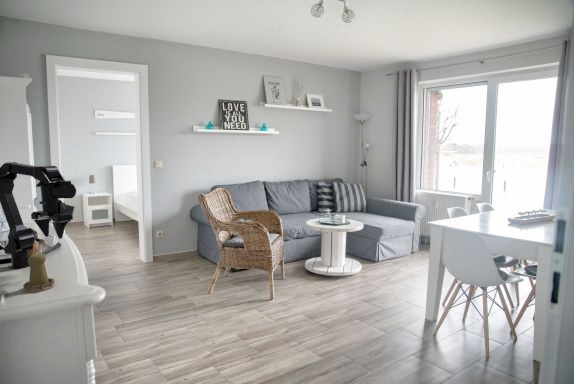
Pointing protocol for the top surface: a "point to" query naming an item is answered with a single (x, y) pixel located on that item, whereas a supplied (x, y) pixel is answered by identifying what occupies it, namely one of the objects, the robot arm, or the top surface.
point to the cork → (37, 270)
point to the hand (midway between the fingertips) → (53, 237)
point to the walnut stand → (39, 286)
